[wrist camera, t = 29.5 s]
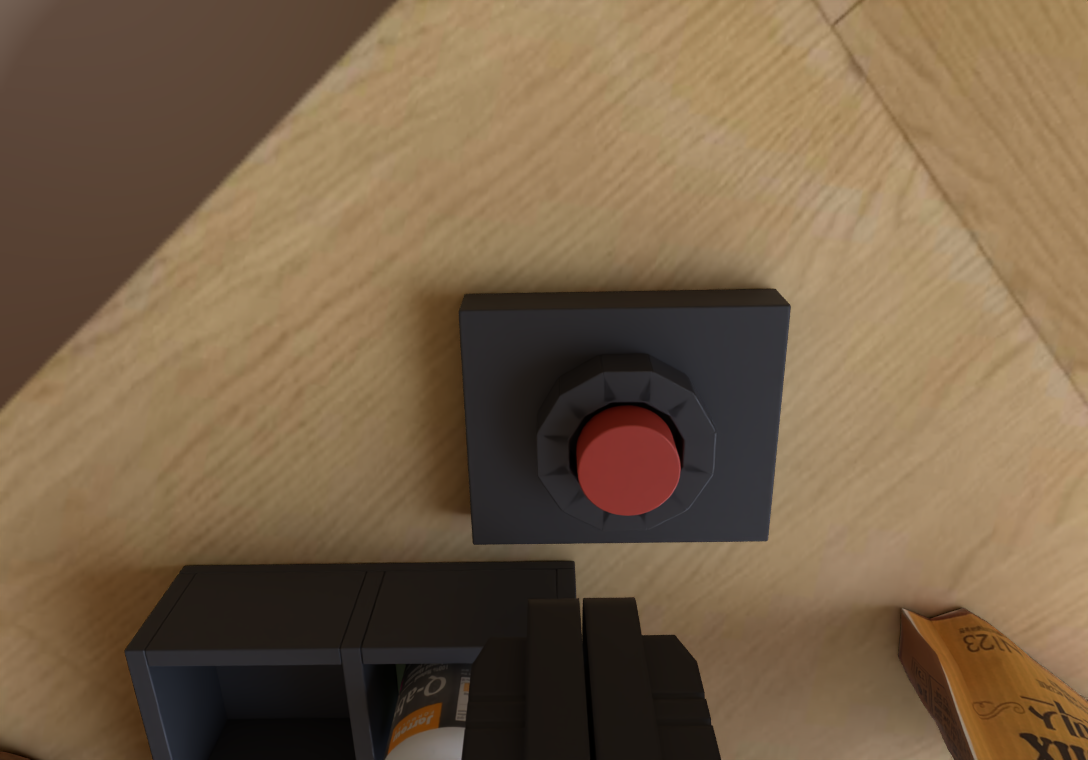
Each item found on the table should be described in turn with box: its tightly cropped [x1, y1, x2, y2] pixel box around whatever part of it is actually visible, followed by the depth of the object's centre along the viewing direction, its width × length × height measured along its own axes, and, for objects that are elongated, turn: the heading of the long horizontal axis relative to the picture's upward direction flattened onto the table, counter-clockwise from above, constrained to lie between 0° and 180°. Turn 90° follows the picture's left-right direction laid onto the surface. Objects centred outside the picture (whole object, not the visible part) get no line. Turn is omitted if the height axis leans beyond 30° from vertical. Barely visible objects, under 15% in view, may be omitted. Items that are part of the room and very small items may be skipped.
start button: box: [576, 405, 681, 516], centre depth 29 cm, size 4×4×2 cm
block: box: [459, 289, 791, 545], centre depth 32 cm, size 12×10×4 cm
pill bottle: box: [383, 663, 472, 760], centre depth 33 cm, size 6×6×10 cm
